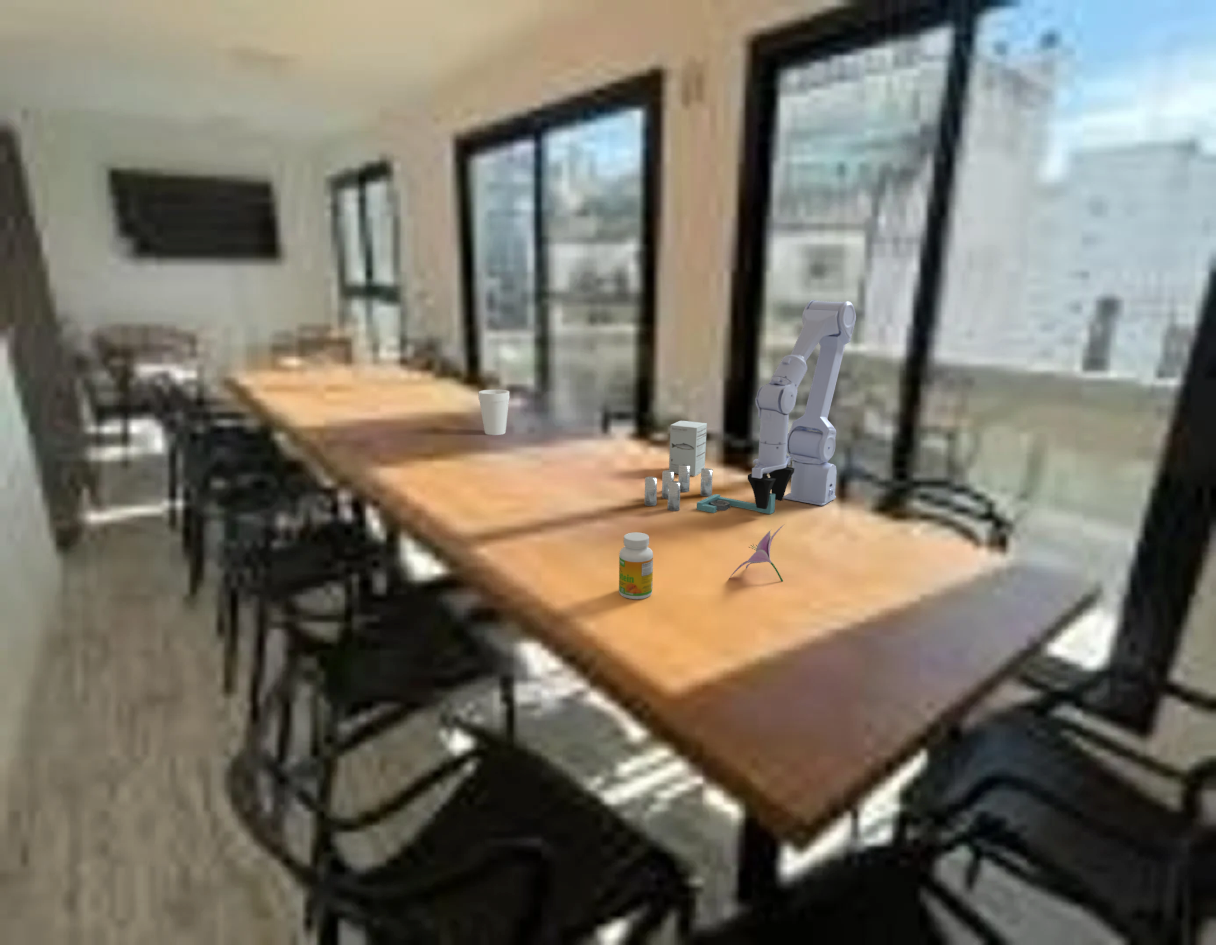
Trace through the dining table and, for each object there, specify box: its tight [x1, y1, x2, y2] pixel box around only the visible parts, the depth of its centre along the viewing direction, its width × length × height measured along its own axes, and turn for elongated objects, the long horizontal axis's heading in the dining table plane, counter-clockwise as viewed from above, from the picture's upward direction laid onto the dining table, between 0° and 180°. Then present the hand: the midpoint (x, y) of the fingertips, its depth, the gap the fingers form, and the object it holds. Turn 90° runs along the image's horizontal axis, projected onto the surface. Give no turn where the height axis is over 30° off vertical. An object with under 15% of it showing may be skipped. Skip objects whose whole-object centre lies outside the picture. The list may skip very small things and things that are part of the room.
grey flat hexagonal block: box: [709, 500, 731, 512], centre depth 175 cm, size 4×5×1 cm
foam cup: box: [478, 388, 511, 436], centre depth 249 cm, size 10×9×13 cm
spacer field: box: [644, 464, 714, 512], centre depth 180 cm, size 9×17×6 cm, turn 143°
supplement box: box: [668, 420, 708, 477], centre depth 203 cm, size 7×7×13 cm
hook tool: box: [696, 492, 776, 515], centre depth 172 cm, size 14×9×4 cm, turn 53°
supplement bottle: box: [618, 532, 654, 600], centre depth 128 cm, size 5×5×10 cm
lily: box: [729, 525, 784, 582], centre depth 135 cm, size 12×12×10 cm
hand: (769, 503), depth 171 cm, fingers open, 7 cm apart
